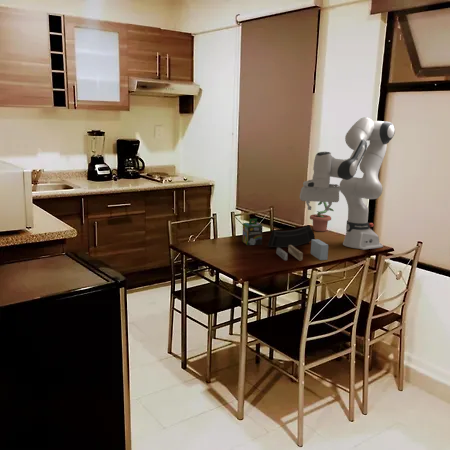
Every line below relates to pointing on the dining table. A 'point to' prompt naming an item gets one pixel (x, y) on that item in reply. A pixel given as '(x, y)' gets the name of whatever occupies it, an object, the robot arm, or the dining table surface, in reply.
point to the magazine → (291, 237)
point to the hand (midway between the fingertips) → (318, 210)
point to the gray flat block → (281, 253)
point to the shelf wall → (295, 252)
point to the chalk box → (252, 233)
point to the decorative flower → (320, 219)
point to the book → (319, 249)
